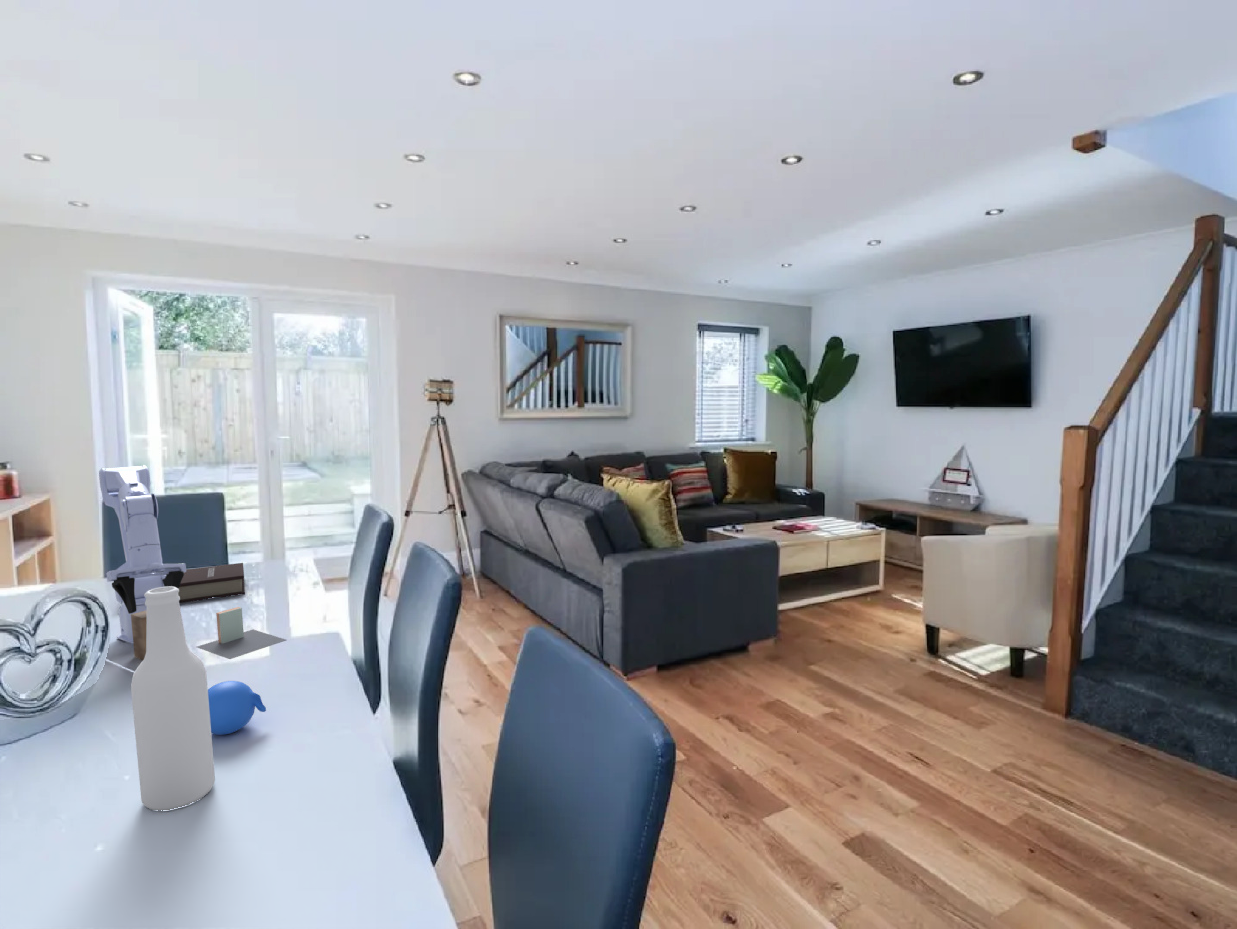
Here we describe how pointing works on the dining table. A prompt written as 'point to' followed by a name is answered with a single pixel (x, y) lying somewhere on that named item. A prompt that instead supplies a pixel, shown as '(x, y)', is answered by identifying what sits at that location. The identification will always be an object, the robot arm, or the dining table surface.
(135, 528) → the robot arm
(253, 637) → the mat
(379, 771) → the dining table surface
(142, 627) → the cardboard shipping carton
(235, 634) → the tile
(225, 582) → the book
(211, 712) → the blue rounded blob
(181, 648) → the alcohol
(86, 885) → the dining table surface
